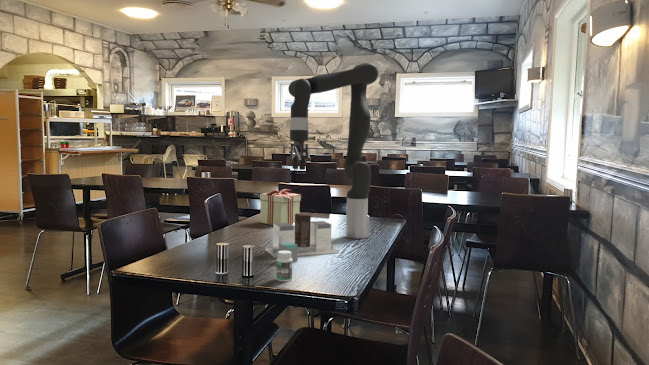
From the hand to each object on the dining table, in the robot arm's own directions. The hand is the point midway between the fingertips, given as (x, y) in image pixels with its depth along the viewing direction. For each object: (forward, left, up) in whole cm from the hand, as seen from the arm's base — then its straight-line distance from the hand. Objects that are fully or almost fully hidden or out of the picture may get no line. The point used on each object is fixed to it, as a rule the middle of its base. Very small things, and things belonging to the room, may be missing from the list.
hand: (298, 169), depth 196 cm
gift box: (-8, -46, -30) cm, 56 cm away
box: (+5, +18, -28) cm, 34 cm away
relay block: (+14, +30, -30) cm, 45 cm away
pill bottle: (+22, +51, -30) cm, 63 cm away
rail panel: (+5, +18, -30) cm, 35 cm away
